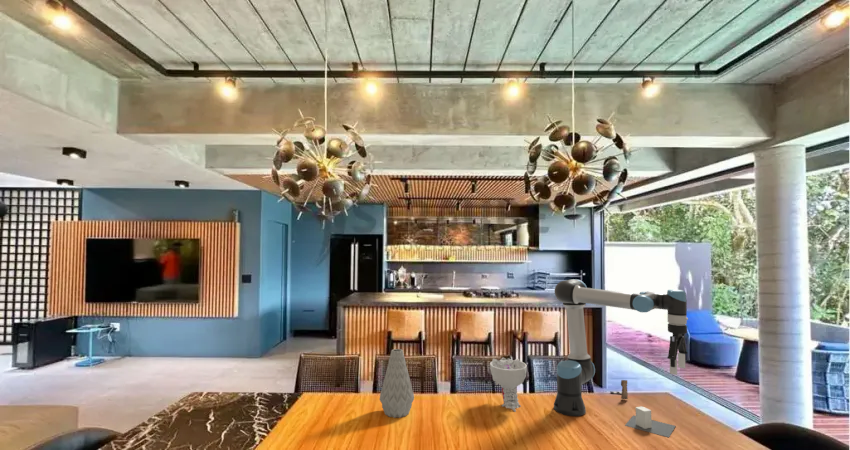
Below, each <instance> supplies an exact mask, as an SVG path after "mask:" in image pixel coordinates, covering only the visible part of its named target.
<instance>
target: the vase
mask: <svg viewBox="0 0 850 450" xmlns="http://www.w3.org/2000/svg"><path fill="white" fill-rule="evenodd" d="M414 400H415V395H414V390H413V386H412V383H411V378H410V374H409V371H408V367H407V361H406V359H405V354H404V350H403V349H401V348H400V349H399V348H395V349H394V348H393V349H391V350H390V355H389V359H388V364H387V368H386V372H385V374H384V380H383V384H382V388H381V391H380V393H379V401H380V403H381V407H382V410H383V412H384V415H385V416H387V417H389V418H394V419H395V418H400V419H401V418H403V417H406V416H407V415H409V414H410V411H411V409H412V405H413V404H412V403H413V401H414Z"/></svg>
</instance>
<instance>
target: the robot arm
mask: <svg viewBox="0 0 850 450" xmlns="http://www.w3.org/2000/svg"><path fill="white" fill-rule="evenodd" d="M554 295H555V297H556V299H557V300H558V301H559V302H561V303H562V306H564V307H565V309H566V319H567V320H566V321H567V332H568V342H569V354H568V355H567V360H562V361H559V362H558V364H557V365H556V390H557V391H556V397H555V399H554V401H553V410H554V411H555V412H556V413H558V414H560V415H564V416H569V417H580V416H584V415H585V414H586V405H585V403H584V400H583V399H584V398H583V397H582V385H584V384H585V383H588V382H590V381H591V380H593V378H594V376H595V373H596V368H595V364H594V363H593V361H592V358H591V355H590V354H589V353H588V347H587V346H588V345H587V335H586V324H585V323H586V322H585V313H584V307H585V306H586V305H587V304H590V305H596V306H603V307H611V308H618V309H626V310H631V311H633V310H634V311H637V312H638V313H648V312H650V311H652V310H655V309H656V310H664V311H666V310H667V322H668V323H667V331H668V333H672V336H670V337H669V349H668V356H667V357H666V358H667V359H668V360H669V374H671V375H674V376H677V375H678V368H681V369H686V355H687V354H688V351H687V345H686V339H685V334H687V333H688V326H687V324H688V323H687V321H688V320H689V318H688V317H687V315H688V314H687V310H688V309H687V308H688V307H687V305H688V304H687V302H688V300H687V292H686V291H685V290H683V289H675V288H674V289H667V292H665V293H663V292H654V291H653V292H651V291H640V292H639V293H632V292H623V291H616V290H608V289H607V290H606V289H600V288H591V287H587V285H586V283H584V281H582V280H580V279H577V278H575V279H574V278H573V279H566V280H561V281H560V282H558V283H557V284H556V285H555V287H554Z"/></svg>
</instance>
